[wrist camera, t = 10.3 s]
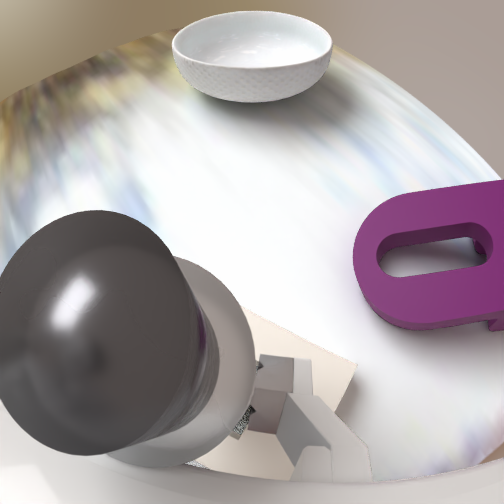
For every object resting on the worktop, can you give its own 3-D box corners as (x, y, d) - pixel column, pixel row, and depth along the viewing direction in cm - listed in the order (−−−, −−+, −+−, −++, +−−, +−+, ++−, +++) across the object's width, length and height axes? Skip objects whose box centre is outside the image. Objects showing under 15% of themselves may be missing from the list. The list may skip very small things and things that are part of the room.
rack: (115, 392, 17) (97, 390, 15) (185, 284, 21) (176, 269, 18) (276, 489, 14) (279, 502, 12) (345, 369, 18) (357, 365, 16)
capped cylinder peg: (183, 396, 15) (-61, 348, 2) (214, 347, 17) (76, 144, 3) (236, 427, 15) (130, 569, 1) (267, 376, 16) (327, 256, 3)
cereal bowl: (163, 76, 33) (153, 30, 27) (274, 46, 37) (275, 4, 31) (217, 148, 26) (208, 83, 20) (354, 104, 30) (367, 51, 24)
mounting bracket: (368, 350, 24) (547, 321, 16) (355, 330, 17) (590, 288, 10) (364, 252, 28) (526, 228, 20) (348, 202, 22) (550, 174, 14)
